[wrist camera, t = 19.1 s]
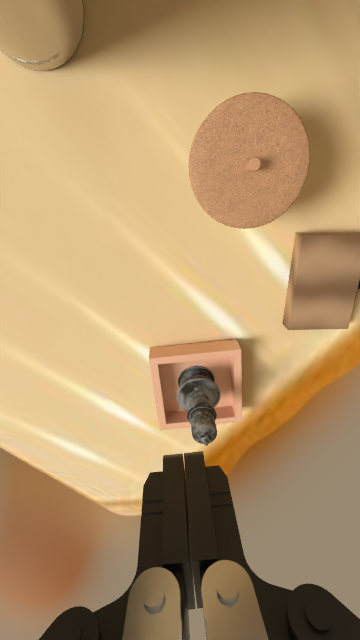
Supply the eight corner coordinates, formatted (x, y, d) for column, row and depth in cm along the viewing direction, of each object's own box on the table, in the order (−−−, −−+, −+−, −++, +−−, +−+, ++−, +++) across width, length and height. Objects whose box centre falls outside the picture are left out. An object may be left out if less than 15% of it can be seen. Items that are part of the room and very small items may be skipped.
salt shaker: (210, 400, 45) (225, 468, 34) (172, 394, 45) (174, 462, 34) (221, 367, 43) (240, 428, 32) (180, 360, 42) (185, 420, 31)
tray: (150, 347, 42) (149, 358, 39) (236, 338, 42) (241, 349, 39) (160, 416, 47) (160, 430, 44) (237, 407, 47) (242, 421, 44)
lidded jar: (292, 194, 35) (334, 195, 26) (208, 237, 37) (221, 251, 28) (260, 92, 31) (296, 55, 22) (167, 145, 33) (167, 129, 24)
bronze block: (293, 232, 37) (302, 235, 35) (357, 232, 38) (370, 234, 35) (281, 322, 42) (288, 329, 40) (338, 321, 42) (348, 328, 40)
